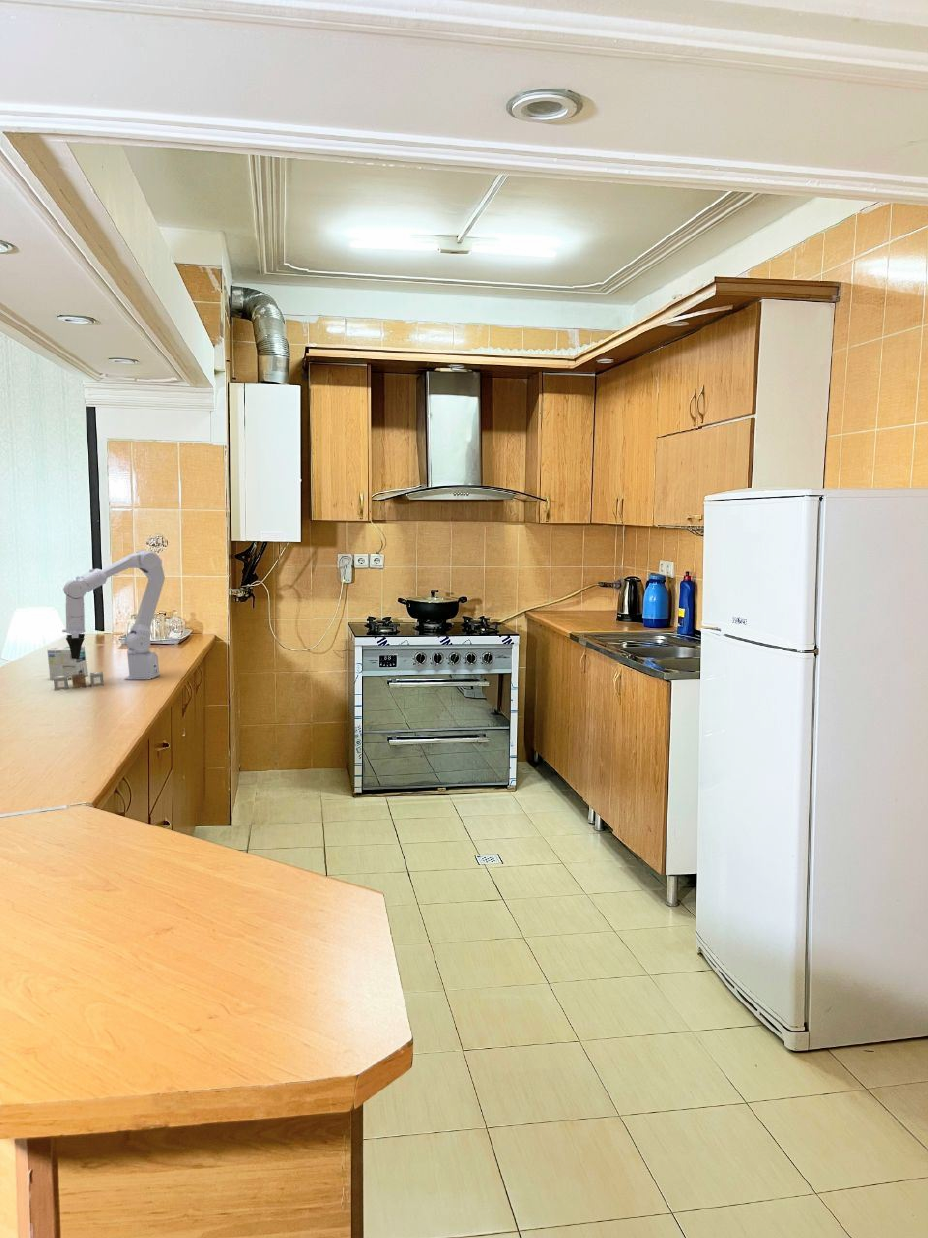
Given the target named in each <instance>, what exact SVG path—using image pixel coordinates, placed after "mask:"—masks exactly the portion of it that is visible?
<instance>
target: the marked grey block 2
mask: <svg viewBox="0 0 928 1238" xmlns="http://www.w3.org/2000/svg"><path fill="white" fill-rule="evenodd" d="M89 679H90V687H91V686H92V687H98V686H97V685H102V686H105V682H104V673H103V671H98V672H97V671H96V672H89Z"/></svg>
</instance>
